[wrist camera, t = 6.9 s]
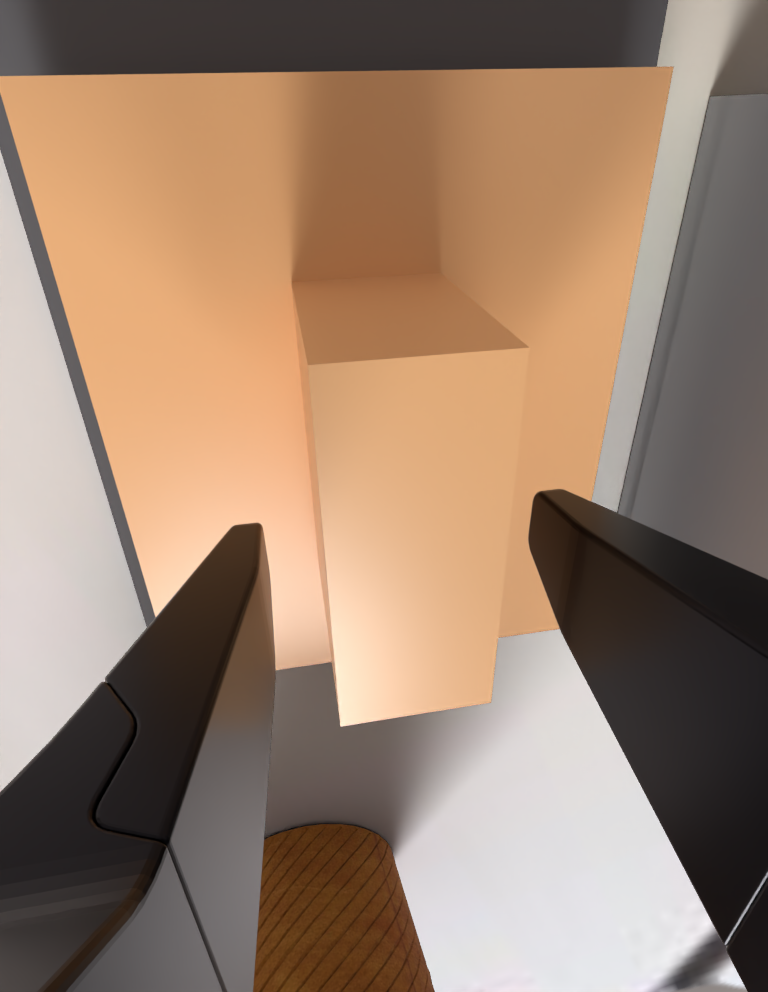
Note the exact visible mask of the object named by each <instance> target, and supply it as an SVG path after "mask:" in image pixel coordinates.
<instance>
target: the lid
mask: <svg viewBox="0 0 768 992" xmlns="http://www.w3.org/2000/svg"><path fill="white" fill-rule="evenodd" d="M672 73H673V67H614V68H542V69H471V70H400V71H329V72H258V73H187V74H116V75H44V76H0V94H1V97H2V100H3V104H4V107H5V110H6V114H7V117H8V121H9V124H10V127H11V131H12V134H13V138H14V141H15V144H16V148H17V151H18V154H19V158H20V161H21V165H22V168H23V171H24V175H25V178H26V181H27V185H28V188H29V192H30V195H31V198H32V202H33V205H34V208H35V212H36V215H37V219H38V222H39V225H40V229H41V232H42V235H43V239H44V242H45V246H46V249H47V252H48V256H49V259H50V262H51V266H52V269H53V273H54V276H55V279H56V283H57V286H58V289H59V293H60V296H61V300H62V303H63V306H64V310H65V313H66V316H67V320H68V323H69V327H70V330H71V333H72V337H73V340H74V343H75V347H76V350H77V354H78V357H79V360H80V364H81V367H82V371H83V374H84V377H85V381H86V384H87V387H88V391H89V394H90V398H91V401H92V404H93V408H94V411H95V414H96V418H97V421H98V425H99V428H100V431H101V435H102V438H103V441H104V445H105V448H106V452H107V455H108V458H109V462H110V465H111V468H112V472H113V475H114V479H115V482H116V485H117V489H118V492H119V495H120V499H121V502H122V506H123V509H124V512H125V516H126V519H127V522H128V526H129V529H130V533H131V536H132V539H133V543H134V546H135V549H136V553H137V556H138V560H139V563H140V566H141V570H142V573H143V577H144V580H145V583H146V587H147V590H148V593H149V597H150V600H151V604H152V607H153V610H154V614H155V617H156V616H157V615H158V614H159V613H160V612H161V610H162V609H163V608H164V607H165V606H166V604H167V603H168V602H169V601H170V600H171V598H172V597H173V596H174V595H175V594H176V592H177V591H178V590H179V589H180V588H181V587H182V585H183V584H184V583H185V582H186V581H187V579H188V578H189V577H190V576H191V575H192V573H193V572H194V571H195V570H196V569H197V567H198V566H199V565H200V564H201V563H202V561H203V560H204V559H205V558H206V557H207V555H208V554H209V553H210V552H211V551H212V549H213V548H214V547H215V546H216V545H217V543H218V542H219V541H220V540H221V539H222V538H223V536H224V535H225V534H226V533H227V532H228V530H229V529H230V528H231V527H232V526H234V525H239V524H248V523H260V524H261V525H262V527H263V531H264V538H265V544H266V551H267V557H268V564H269V571H270V581H271V596H272V612H273V628H274V644H275V665H276V670H281V669H288V668H295V667H302V666H309V665H315V664H322V663H329V662H332V667H333V674H334V682H335V689H336V697H337V704H338V712H339V719H340V726H341V727H342V726H348V725H354V724H360V723H367V722H373V721H379V720H385V719H392V718H398V717H404V716H410V715H416V714H423V713H429V712H435V711H441V710H447V709H454V708H460V707H466V706H472V705H479V704H485V703H491V698H492V689H493V679H494V670H495V661H496V652H497V642H498V638H500V637H507V636H514V635H521V634H528V633H534V632H541V631H548V630H555V629H560V628H559V625H558V623H557V620H556V618H555V615H554V613H553V610H552V607H551V605H550V602H549V600H548V597H547V594H546V592H545V589H544V586H543V584H542V581H541V578H540V576H539V573H538V570H537V568H536V565H535V562H534V560H533V557H532V555H531V552H530V548H529V543H528V533H529V525H530V518H531V510H532V502H533V498H534V496H535V494H536V493H537V492H539V491H544V490H553V489H564V490H566V491H568V492H571V493H573V494H575V495H578V496H580V497H582V498H584V499H587V500H589V501H591V500H592V495H593V490H594V484H595V479H596V474H597V468H598V463H599V458H600V453H601V447H602V442H603V437H604V431H605V426H606V421H607V416H608V410H609V405H610V400H611V395H612V389H613V384H614V379H615V373H616V368H617V363H618V358H619V352H620V347H621V342H622V336H623V331H624V326H625V321H626V315H627V310H628V305H629V300H630V294H631V289H632V284H633V278H634V273H635V268H636V263H637V257H638V252H639V247H640V241H641V236H642V231H643V226H644V220H645V215H646V210H647V205H648V199H649V194H650V189H651V183H652V178H653V173H654V168H655V162H656V157H657V152H658V146H659V141H660V136H661V131H662V125H663V120H664V115H665V110H666V104H667V99H668V94H669V88H670V83H671V78H672Z"/></svg>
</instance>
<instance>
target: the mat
mask: <svg viewBox="0 0 768 992" xmlns="http://www.w3.org/2000/svg"><path fill="white" fill-rule="evenodd" d="M667 4H668V0H0V76H44V75H116V74H187V73H258V72H329V71H400V70H471V69H542V68H614V67H656V66H657V60H658V54H659V49H660V43H661V38H662V32H663V26H664V21H665V15H666V10H667ZM0 150H1V153H2V156H3V159H4V163H5V166H6V169H7V172H8V176H9V179H10V182H11V186H12V189H13V192H14V195H15V199H16V202H17V205H18V208H19V212H20V215H21V218H22V221H23V225H24V228H25V231H26V234H27V238H28V241H29V244H30V247H31V251H32V254H33V257H34V260H35V264H36V267H37V270H38V274H39V277H40V280H41V283H42V287H43V290H44V293H45V296H46V300H47V303H48V306H49V309H50V313H51V316H52V319H53V322H54V326H55V329H56V332H57V335H58V339H59V342H60V345H61V348H62V352H63V355H64V358H65V362H66V365H67V368H68V371H69V375H70V378H71V381H72V384H73V388H74V391H75V394H76V397H77V401H78V404H79V407H80V410H81V414H82V417H83V420H84V423H85V427H86V430H87V433H88V436H89V440H90V443H91V446H92V450H93V453H94V456H95V459H96V463H97V466H98V469H99V472H100V476H101V479H102V482H103V485H104V489H105V492H106V495H107V498H108V502H109V505H110V508H111V511H112V515H113V518H114V521H115V524H116V528H117V531H118V534H119V538H120V541H121V544H122V547H123V551H124V554H125V557H126V560H127V564H128V567H129V570H130V573H131V577H132V580H133V583H134V586H135V590H136V593H137V596H138V599H139V603H140V606H141V609H142V612H143V616H144V619H145V622H146V626H147V627H148V626H149V625H150V624H151V622H152V621H153V620H154V619H155V618H156V617H155V614H154V610H153V607H152V604H151V600H150V597H149V593H148V590H147V587H146V583H145V580H144V577H143V573H142V570H141V566H140V563H139V560H138V556H137V553H136V549H135V546H134V543H133V539H132V536H131V533H130V529H129V526H128V522H127V519H126V516H125V512H124V509H123V506H122V502H121V499H120V495H119V492H118V489H117V485H116V482H115V479H114V475H113V472H112V468H111V465H110V462H109V458H108V455H107V452H106V448H105V445H104V441H103V438H102V435H101V431H100V428H99V425H98V421H97V418H96V414H95V411H94V408H93V404H92V401H91V398H90V394H89V391H88V387H87V384H86V381H85V377H84V374H83V371H82V367H81V364H80V360H79V357H78V354H77V350H76V347H75V343H74V340H73V337H72V333H71V330H70V327H69V323H68V320H67V316H66V313H65V310H64V306H63V303H62V300H61V296H60V293H59V289H58V286H57V283H56V279H55V276H54V273H53V269H52V266H51V262H50V259H49V256H48V252H47V249H46V246H45V242H44V239H43V235H42V232H41V229H40V225H39V222H38V219H37V215H36V212H35V208H34V205H33V202H32V198H31V195H30V192H29V188H28V185H27V181H26V178H25V175H24V171H23V168H22V165H21V161H20V158H19V154H18V151H17V148H16V144H15V141H14V138H13V134H12V131H11V127H10V124H9V121H8V117H7V114H6V110H5V107H4V104H3V100H2V97H1V94H0Z"/></svg>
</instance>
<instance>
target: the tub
mask: <svg viewBox="0 0 768 992" xmlns="http://www.w3.org/2000/svg"><path fill="white" fill-rule="evenodd" d="M618 514H621V515H623V516H625V517H627V518H630V519H632V520H634V521H637V522H639V523H641V524H643V525H646V526H648V527H650V528H652V529H655V530H657V531H659V532H662V533H664V534H666V535H668V536H671V537H673V538H675V539H677V540H680V541H682V542H684V543H686V544H689V545H691V546H693V547H696V548H698V549H700V550H702V551H705V552H707V553H709V554H712V555H714V556H716V557H718V558H721V559H723V560H725V561H727V562H730V563H732V564H734V565H737V566H739V567H741V568H743V569H746V570H748V571H750V572H752V573H755V574H757V575H759V576H762V577H764V578H766V579H768V94H749V95H730V96H711V97H710V99H709V104H708V108H707V113H706V118H705V122H704V127H703V131H702V136H701V140H700V145H699V149H698V154H697V158H696V163H695V167H694V172H693V176H692V181H691V185H690V190H689V194H688V199H687V203H686V208H685V212H684V217H683V221H682V226H681V230H680V235H679V239H678V244H677V248H676V253H675V257H674V262H673V266H672V271H671V275H670V280H669V284H668V289H667V293H666V298H665V302H664V307H663V311H662V316H661V320H660V325H659V330H658V334H657V339H656V343H655V348H654V352H653V357H652V361H651V366H650V370H649V375H648V379H647V384H646V388H645V393H644V397H643V402H642V406H641V411H640V415H639V420H638V424H637V429H636V433H635V438H634V442H633V447H632V451H631V456H630V460H629V465H628V469H627V474H626V478H625V483H624V487H623V492H622V496H621V501H620V505H619V510H618Z"/></svg>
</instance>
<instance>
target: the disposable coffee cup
mask: <svg viewBox="0 0 768 992" xmlns="http://www.w3.org/2000/svg"><path fill="white" fill-rule="evenodd" d="M253 992H435V991H434V988H433V985H432V981H431V976H430V972H429V970H428V968H427V965H426V961H425V958H424V955H423V952H422V949H421V946H420V942H419V939H418V936H417V933H416V929H415V926H414V923H413V919H412V916H411V913H410V910H409V907H408V903H407V900H406V897H405V894H404V890H403V887H402V884H401V880H400V877H399V874H398V871H397V867H396V864H395V860H394V857H393V853H392V850H391V847H390V846H389V844H388V843H387V841H386V840H384V839H383V838H382V837H381V836H379V835H378V834H376V833H374V832H371V831H369V830H367V829H364V828H360V827H357V826H351V825H343V824H319V825H312V826H304V827H300V828H296V829H292V830H288V831H284V832H281V833H279V834H276V835H273V836H270V837H268V838H267V839H265V840H264V847H263V861H262V875H261V888H260V902H259V916H258V930H257V944H256V958H255V971H254V985H253Z"/></svg>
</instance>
